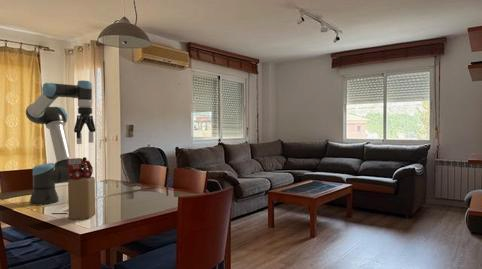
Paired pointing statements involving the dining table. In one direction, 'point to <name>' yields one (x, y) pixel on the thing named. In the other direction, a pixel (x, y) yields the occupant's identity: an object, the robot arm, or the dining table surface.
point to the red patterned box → (79, 168)
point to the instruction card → (63, 210)
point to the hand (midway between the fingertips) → (85, 143)
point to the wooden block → (81, 198)
